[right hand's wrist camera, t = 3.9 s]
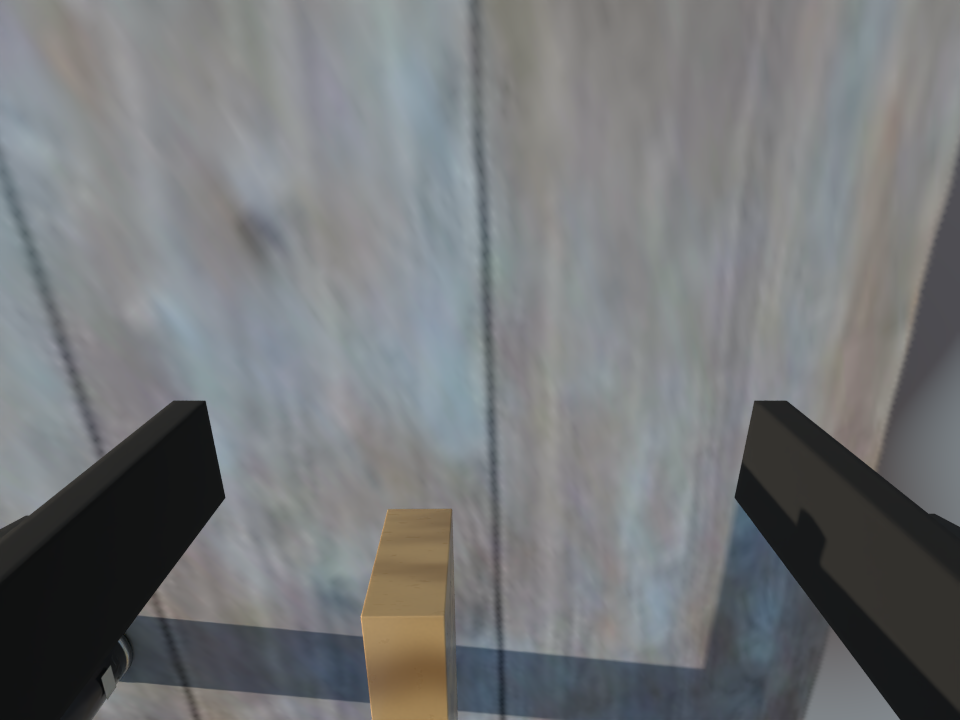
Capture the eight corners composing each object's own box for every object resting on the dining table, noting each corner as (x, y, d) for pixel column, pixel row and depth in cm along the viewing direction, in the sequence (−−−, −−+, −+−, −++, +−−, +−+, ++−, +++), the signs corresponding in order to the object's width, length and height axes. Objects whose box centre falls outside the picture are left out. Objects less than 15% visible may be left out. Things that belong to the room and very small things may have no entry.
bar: (387, 508, 36) (360, 616, 28) (452, 508, 36) (444, 616, 28) (405, 736, 45) (388, 873, 36) (458, 735, 45) (453, 872, 36)
